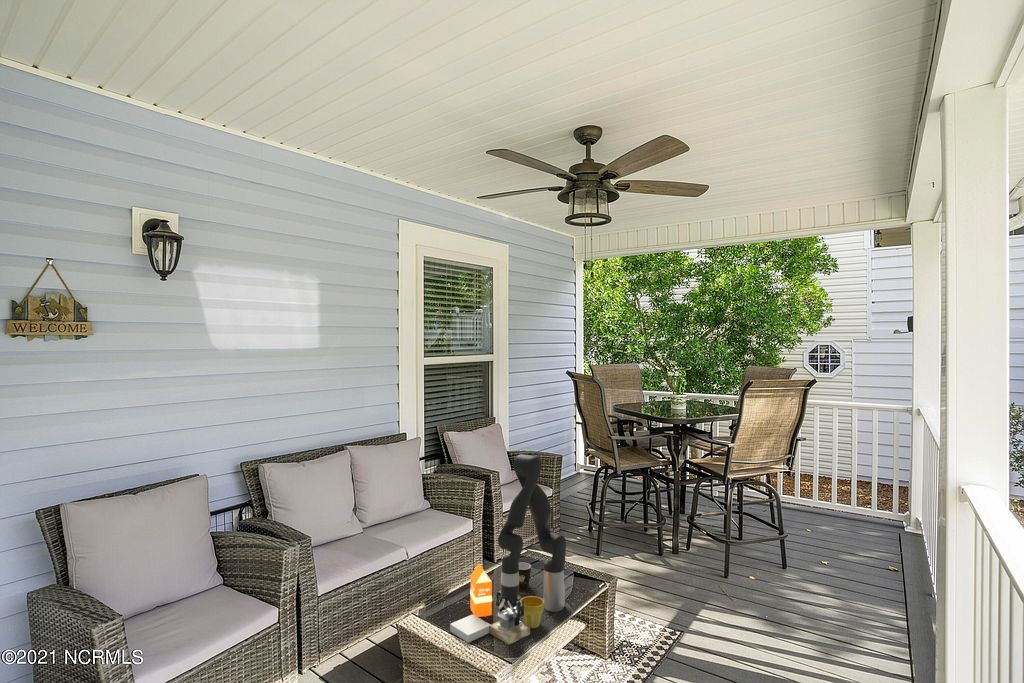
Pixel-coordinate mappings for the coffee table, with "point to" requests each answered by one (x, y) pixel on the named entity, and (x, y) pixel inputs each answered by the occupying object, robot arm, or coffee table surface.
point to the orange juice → (480, 593)
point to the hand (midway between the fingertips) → (509, 621)
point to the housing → (507, 620)
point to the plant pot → (532, 610)
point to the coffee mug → (524, 575)
